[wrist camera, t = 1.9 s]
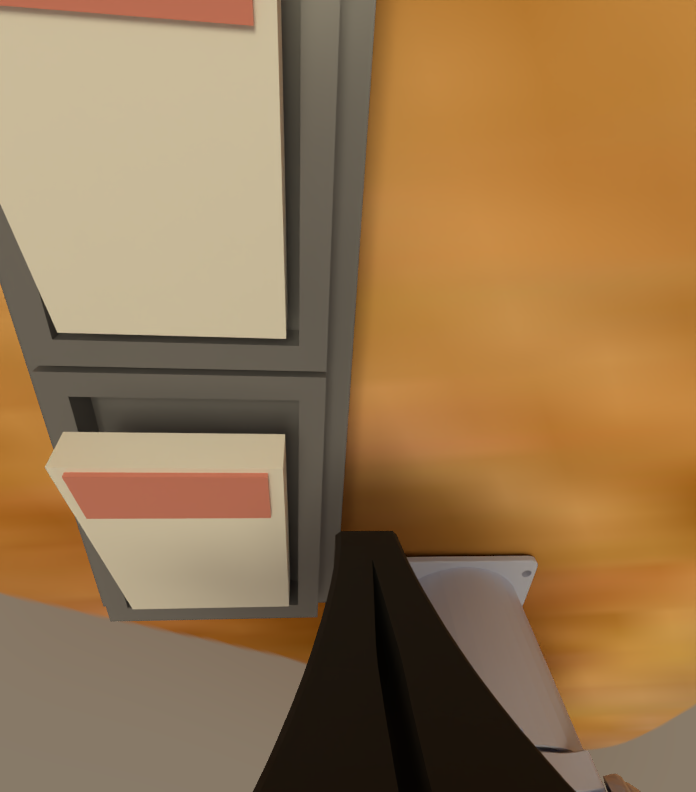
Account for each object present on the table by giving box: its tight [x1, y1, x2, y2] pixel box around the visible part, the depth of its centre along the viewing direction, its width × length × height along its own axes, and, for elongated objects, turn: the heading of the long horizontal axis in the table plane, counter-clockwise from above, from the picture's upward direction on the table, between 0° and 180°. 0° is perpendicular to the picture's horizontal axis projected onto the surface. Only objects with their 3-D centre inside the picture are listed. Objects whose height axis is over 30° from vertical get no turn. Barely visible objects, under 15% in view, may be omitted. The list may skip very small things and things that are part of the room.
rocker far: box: [45, 432, 290, 609], centre depth 16 cm, size 9×6×1 cm, turn 177°
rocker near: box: [0, 0, 288, 339], centre depth 10 cm, size 9×6×1 cm, turn 177°
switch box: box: [0, 0, 376, 621], centre depth 16 cm, size 24×10×5 cm, turn 177°
